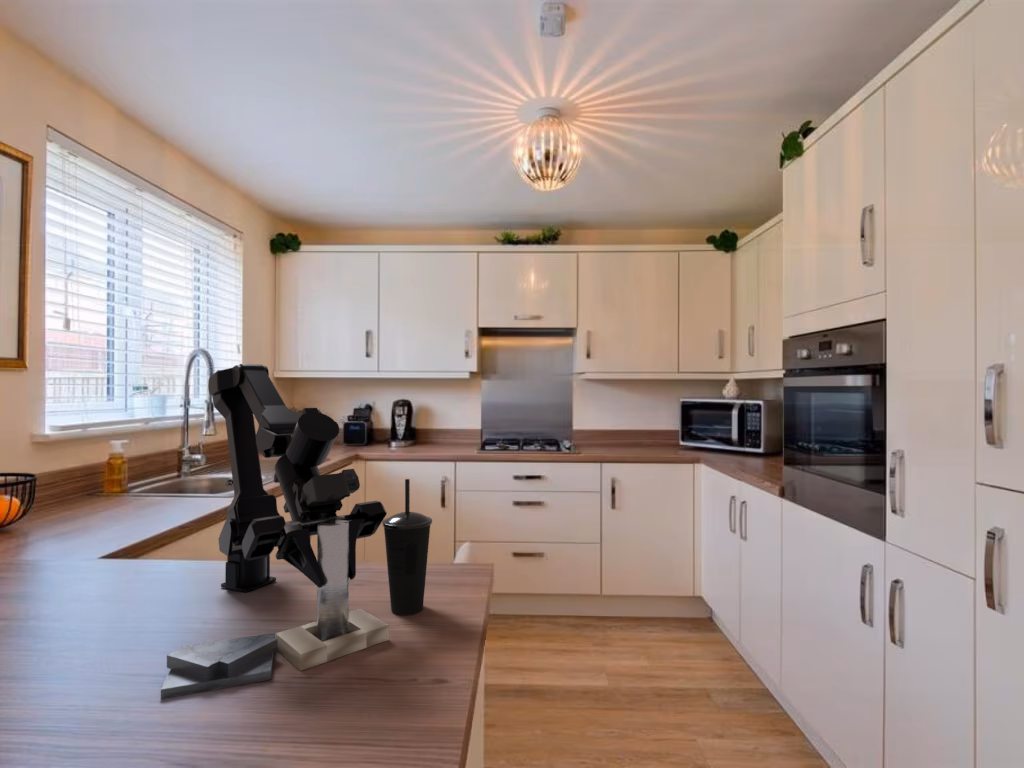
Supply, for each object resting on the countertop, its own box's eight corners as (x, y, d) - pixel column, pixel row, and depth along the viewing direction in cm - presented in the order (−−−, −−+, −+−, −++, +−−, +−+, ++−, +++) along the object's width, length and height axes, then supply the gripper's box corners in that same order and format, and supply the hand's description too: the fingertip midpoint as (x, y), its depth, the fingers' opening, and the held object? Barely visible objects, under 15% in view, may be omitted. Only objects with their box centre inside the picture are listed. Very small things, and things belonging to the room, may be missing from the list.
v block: (177, 654, 70) (177, 635, 70) (279, 639, 74) (279, 621, 74) (155, 699, 60) (155, 676, 60) (275, 678, 64) (275, 657, 64)
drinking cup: (441, 604, 86) (441, 477, 87) (413, 622, 79) (413, 484, 80) (401, 596, 90) (402, 474, 90) (371, 613, 83) (371, 481, 83)
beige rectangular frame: (300, 671, 66) (300, 654, 66) (275, 648, 71) (275, 633, 71) (388, 639, 74) (388, 624, 74) (359, 622, 80) (359, 608, 80)
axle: (332, 635, 75) (332, 518, 76) (355, 640, 74) (355, 521, 74) (310, 647, 72) (310, 525, 72) (334, 653, 70) (334, 528, 70)
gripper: (249, 456, 70) (283, 562, 61) (380, 446, 82) (422, 533, 74) (229, 509, 75) (257, 613, 67) (355, 492, 88) (391, 577, 80)
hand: (337, 581), depth 72 cm, fingers closed on axle, 4 cm apart
